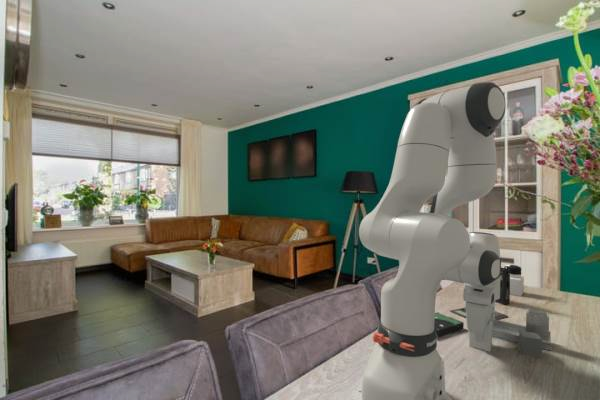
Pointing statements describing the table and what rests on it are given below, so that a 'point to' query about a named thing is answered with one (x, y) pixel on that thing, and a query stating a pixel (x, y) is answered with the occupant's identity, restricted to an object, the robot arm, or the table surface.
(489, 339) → the block
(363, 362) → the table surface
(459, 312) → the calculator
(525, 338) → the block
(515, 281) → the medicine bottle
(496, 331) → the rail
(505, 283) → the geiger counter
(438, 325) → the disk drive
